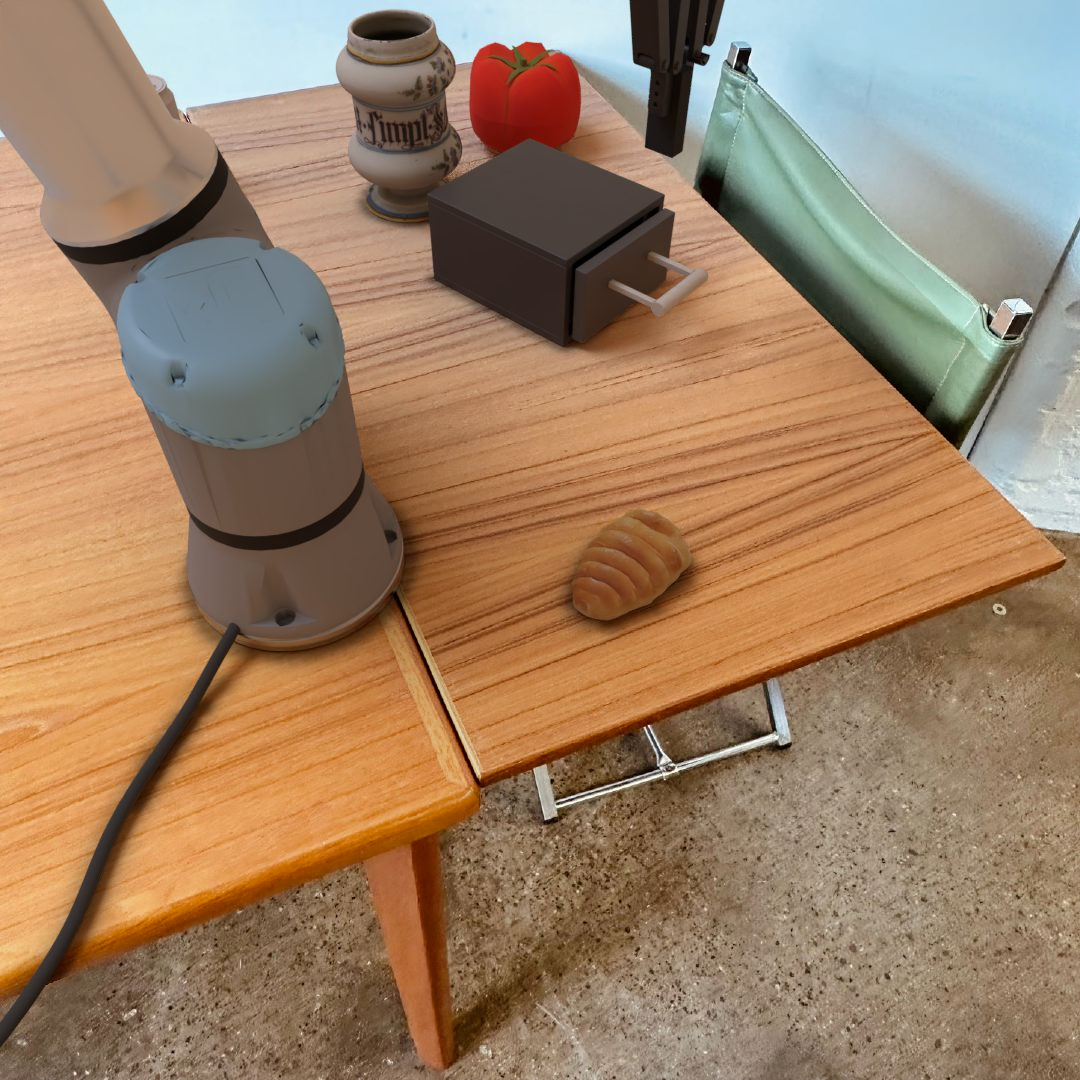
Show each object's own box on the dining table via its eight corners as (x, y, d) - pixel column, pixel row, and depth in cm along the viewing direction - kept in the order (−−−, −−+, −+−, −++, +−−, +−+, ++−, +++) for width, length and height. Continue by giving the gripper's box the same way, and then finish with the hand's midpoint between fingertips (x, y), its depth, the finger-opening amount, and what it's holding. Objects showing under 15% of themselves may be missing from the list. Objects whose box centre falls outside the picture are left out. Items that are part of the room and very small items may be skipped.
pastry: (622, 646, 63) (627, 614, 60) (546, 597, 65) (546, 563, 62) (696, 564, 67) (703, 530, 65) (622, 522, 70) (625, 487, 67)
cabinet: (654, 279, 91) (665, 194, 84) (563, 347, 84) (566, 260, 77) (528, 220, 98) (529, 137, 91) (433, 279, 91) (426, 193, 84)
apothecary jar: (360, 172, 104) (336, -1, 91) (465, 172, 105) (457, 0, 91) (350, 229, 97) (322, 49, 83) (464, 228, 97) (454, 49, 83)
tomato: (601, 142, 110) (607, 50, 102) (531, 184, 103) (532, 89, 95) (515, 108, 115) (515, 18, 108) (443, 146, 109) (437, 53, 101)
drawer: (719, 304, 87) (732, 236, 82) (637, 372, 80) (645, 302, 75) (545, 224, 96) (546, 157, 91) (457, 279, 89) (453, 210, 84)
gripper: (699, -200, 51) (654, 197, 69) (814, -237, 57) (746, 134, 75) (592, -221, 54) (576, 164, 72) (713, -253, 60) (671, 107, 78)
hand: (663, 149), depth 73 cm, fingers closed
